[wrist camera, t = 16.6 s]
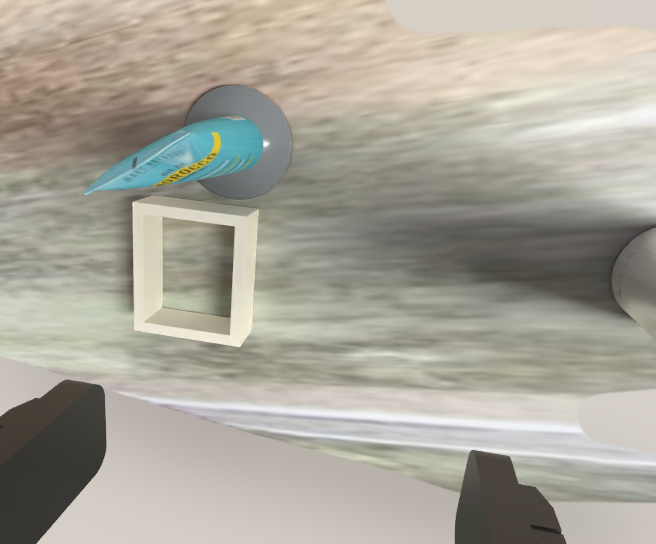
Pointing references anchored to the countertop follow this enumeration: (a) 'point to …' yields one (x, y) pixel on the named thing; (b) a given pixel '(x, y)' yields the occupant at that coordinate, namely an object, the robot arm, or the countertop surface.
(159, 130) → the countertop surface
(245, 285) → the white open box
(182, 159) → the tube
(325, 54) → the countertop surface
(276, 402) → the countertop surface
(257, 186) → the grey round disc
